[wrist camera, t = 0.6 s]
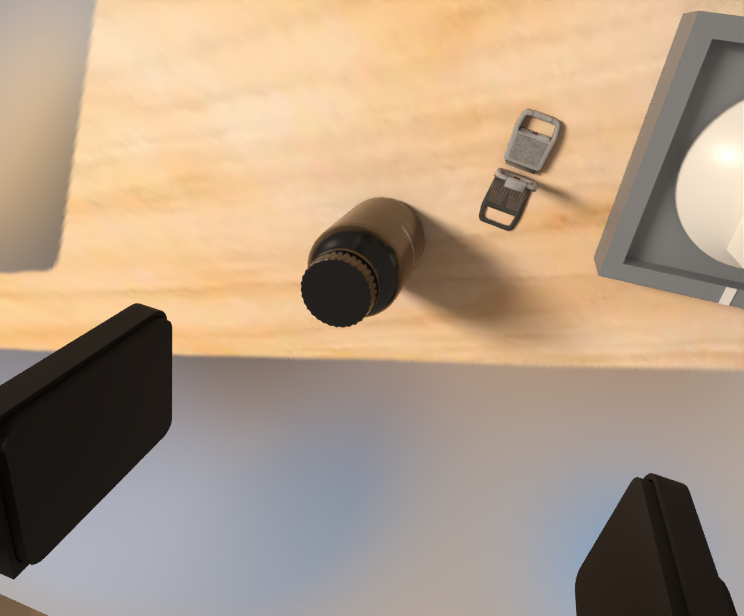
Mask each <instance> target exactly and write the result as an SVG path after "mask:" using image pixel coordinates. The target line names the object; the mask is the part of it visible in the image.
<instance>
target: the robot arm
mask: <svg viewBox="0 0 744 616" xmlns="http://www.w3.org/2000/svg"><path fill="white" fill-rule="evenodd" d="M171 422H172V324H171V322H170V321H168V320H167V316H166V314H165V313H164V312H163V311H161V310H158V309H154V308H151V307H148V306H145V305H142V304H138V303H135V304H133V305H131V306H129V307H128V308H126V309H124V310H123V311H121V312H119V313H118V314H116V315H115V316H113V317H111V318H110V319H108V320H106V321H105V322H103V323H101V324H100V325H98V326H97V327H95V328H93V329H92V330H90V331H88V332H87V333H85V334H84V335H82V336H80V337H79V338H77V339H75V340H74V341H72V342H70V343H69V344H67V345H66V346H64V347H62V348H61V349H59V350H57V351H56V352H54V353H53V354H51V355H49V356H48V357H46V358H44V359H43V360H41V361H40V362H38V363H37V364H35V365H33V366H31V367H30V368H28V369H26V370H25V371H23V372H22V373H20V374H18V375H17V376H15V377H13V378H12V379H10V380H9V381H7V382H5V383H4V384H2V385H0V574H3V575H5V576H7V577H9V578H11V579H15V578H16V577H17V576H18V575H19V574H20V573H21V572H22V571H23V570H24V569H25V568H26V567H27V566H28V565H29V564H31V565H34V564H37V563H38V562H40V561H42V559H44V558H45V557H46V556H47V555H48V554H49V553H50V552H51V551H52V550H53V549H54V548H55V547H56V546H57V545H58V544H59V543H60V542H61V541H62V540H63V539H64V538H65V537H66V536H67V534H68V533H70V532H71V531H72V530H73V529H74V527H75V526H76V525H77V524H78V523H79V522H80V521H81V520H82V519H83V518H84V517H85V516H86V515H87V514H88V513H89V512H90V511H91V510H92V509H93V508H94V507H95V506H96V505H97V504H98V503H99V502H100V501H101V500H102V499H103V498H104V497H105V496H106V495H107V494H108V493H109V492H110V491H111V490H112V489H113V488H114V487H115V486H116V485H117V484H118V483H119V482H120V481H121V480H122V479H123V478H124V477H125V476H126V475H127V474H128V473H129V472H130V471H131V470H132V468H134V466H135V465H137V464H138V462H139V461H140V460H141V459H142V458H143V457H144V456H145V455H146V454H147V453H148V452H149V451H150V450H151V449H152V448H153V447H154V446H155V445H156V444H157V443H158V442H159V441H160V440H161V439H162V438H163V437H164V436H165V435H166V433H167V431H168V430H169V427H170V425H171ZM575 598H576V613H577V616H738V615H737V613H736V610H735V607H734V604H733V601H732V598H731V596H730V593H729V591H728V589H727V587H726V585H725V583H724V582H723V581H722V580H721V579H720V578H719V577H718V573H717V570H716V567H715V564H714V562H713V559H712V556H711V553H710V550H709V547H708V544H707V541H706V538H705V535H704V532H703V530H702V527H701V524H700V521H699V518H698V515H697V512H696V509H695V506H694V503H693V500H692V497H691V494H690V492H689V489H688V487H687V486H686V485H684V484H683V483H680V482H677V481H674V480H671V479H668V478H665V477H662V476H659V475H656V474H653V473H649V474H648V475H646V476H645V477H644V479H642V478H639V477H636V478H634V479H633V480H632V482H631V483H630V485H629V486H628V488H627V490H626V491H625V493H624V495H623V497H622V498H621V500H620V502H619V503H618V505H617V507H616V508H615V510H614V512H613V513H612V515H611V517H610V518H609V520H608V522H607V524H606V525H605V527H604V528H603V530H602V532H601V534H600V535H599V537H598V539H597V540H596V542H595V544H594V545H593V547H592V549H591V551H590V552H589V554H588V555H587V557H586V559H585V561H584V562H583V564H582V566H581V567H580V569H579V571H578V574H577V578H576V583H575ZM0 616H47V615H46V614H43V613H41V612H39V611H37V610H34V609H32V608H30V607H28V606H25V605H23V604H21V603H19V602H16V601H14V600H12V599H10V598H8V597H6V596H3V595H1V594H0Z"/></svg>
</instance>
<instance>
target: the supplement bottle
mask: <svg viewBox="0 0 744 616" xmlns="http://www.w3.org/2000/svg"><path fill="white" fill-rule="evenodd" d="M423 247H424V233H423V229H422V226H421V224H420V222H419V220H418V218H417V216H416V215H415V214H414V213H413V211H412V210H411V209H410V208H408V207H407V206H406V205H404V204H403V203H401V202H399V201H397V200H394V199H390V198H384V197H379V198H372V199H368V200H366V201H364V202H362V203H360V204H359V205H357V206H356V207H354V208H353V209H352V210H351V211H349V212H348V213H347V214H346V215H344V216H343V217H342V218H341V219H339V220H338V221H337V222H336V223H335V224H333V225H332V226H331V227H330V228H328V229H327V230H326V231H325V232H324V233H323V234H321V235H320V237H319V238H318V239H317V240H316V241H315V243H314V244H313V246H312V248H311V250H310V253H309V257H308V268H307V269H306V270H305V274H304V275H303V276H302V282H301V286H302V287H301V292H302V298H303V299H304V303H305V305H306V306H307V309H308V310H309V311H310V312H311V314H312V315H314V316H315V317H316V318H317V319H318V320H321V321H322V322H323V323H326V324H328V325H330V326H335V327H346V326H347V327H350V326H351V325H356V324H357V323H358V322H360V321H362V320H363V319H364V317H370V316H374V315H376V314H379V313H381V312H382V311H384V310H385V309H387V308H388V307H389V306H390V305H391V304H392V303H393V302H394V300H395V299H396V298H397V296H398V295H399V293H400V291H401V290H402V288H403V286H404V285H405V283H406V281H407V280H408V278H409V276H410V275H411V273H412V271H413V270H414V268H415V266H416V265H417V263H418V261H419V259H420V257H421V255H422V252H423Z"/></svg>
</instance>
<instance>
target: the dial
mask: <svg viewBox="0 0 744 616" xmlns="http://www.w3.org/2000/svg"><path fill="white" fill-rule="evenodd" d="M674 201H675V209H676V212H677V216H678V219H679V221H680V223H681V225H682V227H683V229H684V230H685V232H686V233H687V235H688V236H689V237H690V239H691V240H692V241H693V242H694V243H695V244H696V245H697V246H698V248H700V249H701V250H702V251H703V252H705V253H706V254H707V255H709V256H710V257H712V258H714V259H716V260H717V261H720V262H722V263H725V264H727V265H730V266H734V267H737V268H742V269H744V99H742V100H740V101H738V102H736V103H734V104H733V105H731V106H730V107H728V108H727V109H725V110H724V111H722V112H721V113H720V114H719V115H717V116H716V117H715V118H714V119H712V120H711V121H710V122H709V123H708V124H707V125H706V126H705V127H704V128H703V129H702V130H701V132H700V133H699V134H698V135H697V136H696V138H695V139H694V140H693V142H692V143H691V145H690V146H689V148H688V149H687V151H686V153H685V155H684V157H683V159H682V161H681V163H680V166H679V169H678V172H677V175H676V181H675V187H674Z"/></svg>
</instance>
